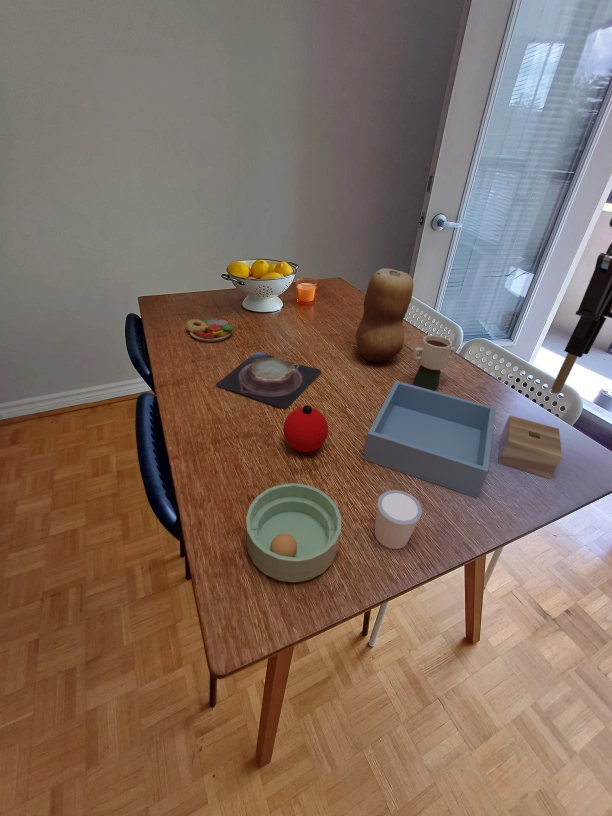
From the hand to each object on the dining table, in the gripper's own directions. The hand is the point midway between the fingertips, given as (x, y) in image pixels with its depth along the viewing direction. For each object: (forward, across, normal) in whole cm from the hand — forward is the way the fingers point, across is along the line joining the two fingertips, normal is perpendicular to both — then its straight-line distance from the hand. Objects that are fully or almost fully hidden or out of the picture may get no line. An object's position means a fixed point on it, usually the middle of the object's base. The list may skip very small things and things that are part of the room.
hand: (576, 352), depth 69 cm
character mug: (+25, -4, -30) cm, 39 cm away
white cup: (+25, +37, -2) cm, 45 cm away
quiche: (+25, +29, -53) cm, 66 cm away
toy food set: (+25, +31, -85) cm, 94 cm away
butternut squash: (+25, -3, -48) cm, 54 cm away
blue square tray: (+25, +14, -14) cm, 32 cm away
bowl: (+25, +52, -9) cm, 58 cm away
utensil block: (+25, -1, 0) cm, 25 cm away
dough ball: (+22, +55, -7) cm, 59 cm away
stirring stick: (+9, 0, 0) cm, 9 cm away
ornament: (+25, +37, -27) cm, 52 cm away
